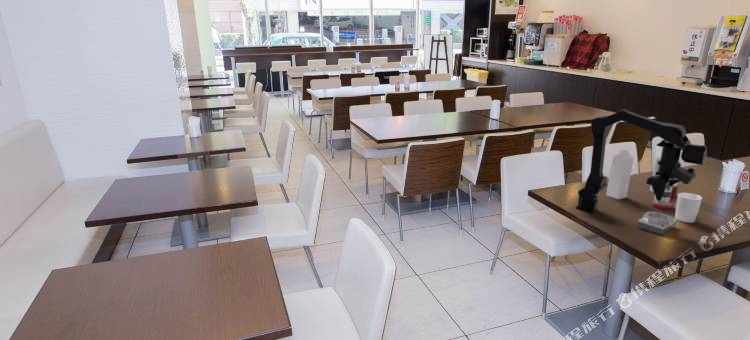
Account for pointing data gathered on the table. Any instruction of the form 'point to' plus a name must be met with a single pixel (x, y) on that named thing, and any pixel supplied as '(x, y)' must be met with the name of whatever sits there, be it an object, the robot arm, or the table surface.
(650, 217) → the camera body
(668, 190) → the lens
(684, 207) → the white cup
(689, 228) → the table surface
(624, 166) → the milk
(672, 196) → the canned food
